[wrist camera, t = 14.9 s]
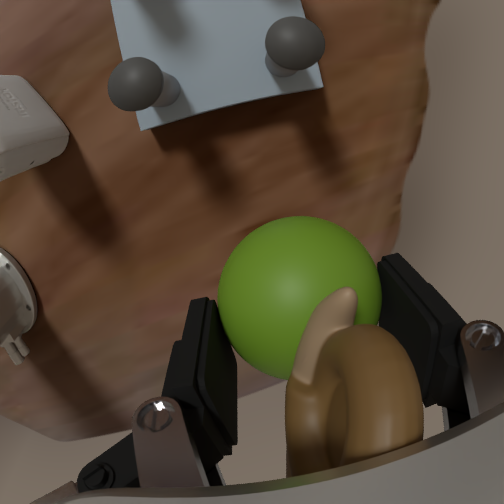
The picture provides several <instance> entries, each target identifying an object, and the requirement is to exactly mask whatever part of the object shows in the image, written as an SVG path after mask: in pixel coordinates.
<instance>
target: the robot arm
mask: <svg viewBox="0 0 504 504" xmlns="http://www.w3.org/2000/svg"><path fill="white" fill-rule="evenodd" d="M377 271H378V274H379V278H380V282H381V289H382V306H381V313H380V317H379V327H381V328H383V329H385V330H386V331H388V332H389V333H391V334H392V335H393V336H394V337H395V338H396V339H397V340H398V341H399V343H400V344H401V345H402V346H403V348H404V349H405V350H406V352H407V354H408V356H409V358H410V360H411V362H412V364H413V366H414V369H415V372H416V375H417V378H418V382H419V385H420V390H421V396H422V402H423V404H424V405H425V407H429V406H431V405H434V404H436V403H437V405H438V406H442V413H443V422H444V432H442V433H440V434H437V435H435V436H432V437H430V438H428V439H425V440H422V441H420V442H417V443H415V444H412V445H409V446H406V447H404V448H401V449H398V450H395V451H392V452H389V453H386V454H383V455H380V456H377V457H374V458H370V459H367V460H364V461H360V462H356V463H353V464H349V465H345V466H341V467H337V468H333V469H329V470H325V471H320V472H315V473H311V474H306V475H300V476H295V477H289V478H283V479H277V480H271V481H263V482H256V483H247V484H237V485H226V484H225V481H224V479H223V476H222V473H221V471H220V468H219V466H218V462H219V461H220V460H222V459H223V456H225V455H232V445H237V441H238V440H237V439H238V437H237V362H236V358H235V355H234V352H233V350H232V347H231V344H230V342H229V340H228V338H227V337H226V335H225V332H224V330H223V327H222V325H221V321H220V317H219V312H218V307H217V305H216V302H215V300H209V298H208V297H204V298H199V299H194V300H191V301H190V305H189V310H188V314H187V318H186V323H185V327H184V331H183V336H182V340H179V341H176V342H174V345H173V348H172V352H171V357H170V361H169V365H168V369H167V373H166V378H165V382H164V386H163V391H162V395H161V397H155V398H151V399H149V400H147V401H145V402H144V403H142V404H141V405H140V406H139V407H138V408H137V409H136V410H135V412H134V414H133V416H132V433H130V434H129V435H128V436H126V437H125V438H124V439H122V440H121V441H120V442H118V443H117V444H115V445H114V446H112V447H111V448H110V449H108V450H107V451H105V452H104V453H103V454H101V455H100V456H98V457H97V458H96V459H94V460H93V461H91V462H90V463H88V464H87V465H86V466H85V467H84V468H83V469H82V470H81V472H80V473H79V476H78V479H77V482H76V483H74V482H73V481H70V482H68V483H66V484H64V485H63V486H61V487H59V488H57V489H56V490H54V491H52V492H50V493H48V494H46V495H45V496H43V497H41V498H39V499H37V500H35V501H33V502H32V503H30V504H504V331H503V330H502V328H501V327H499V326H498V325H497V324H495V323H493V322H491V321H486V320H476V321H472V322H470V323H468V324H466V323H465V321H464V320H463V319H462V318H461V317H460V316H459V315H458V313H457V312H456V311H455V310H454V309H453V308H452V307H451V306H450V304H448V302H447V301H446V300H445V299H444V298H443V297H442V296H441V295H440V294H439V293H438V292H437V290H436V289H435V288H434V287H433V286H432V285H431V284H429V283H427V282H426V281H425V280H424V279H423V278H422V277H421V276H420V274H419V273H418V272H417V271H416V270H415V269H414V268H413V267H411V265H410V264H409V263H408V262H407V261H406V260H405V259H404V258H403V257H402V256H401V255H400V254H399V253H395V254H391V255H387V256H383V257H382V260H381V261H380V262H378V264H377ZM36 318H37V301H36V297H35V293H34V291H33V288H32V285H31V283H30V281H29V279H28V277H27V275H26V274H25V272H24V271H23V269H22V268H21V266H20V265H19V264H18V263H17V261H16V260H15V259H14V258H13V257H12V256H11V255H10V254H9V253H7V252H6V251H5V250H3V249H2V248H0V346H1V347H4V348H5V349H6V351H7V353H8V355H9V356H10V358H11V359H12V361H13V362H14V364H15V365H19V364H20V363H22V362H23V361H24V359H25V357H24V356H26V355H28V354H29V352H30V350H29V348H28V346H27V345H26V343H25V342H24V341H23V339H22V338H21V337H22V334H23V333H26V332H27V331H28V330H30V328H31V327H32V326H33V324H34V323H35V321H36Z"/></svg>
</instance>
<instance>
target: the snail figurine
mask: <svg viewBox="0 0 504 504" xmlns="http://www.w3.org/2000/svg"><path fill="white" fill-rule="evenodd" d="M381 306H382V289H381V282H380V278H379V274H378V271H377V268H376V266H375V264H374V261H373V259H372V258H371V256H370V254H369V253H368V251H367V250H366V248H365V247H364V246H363V245H362V244H361V242H360V241H359V240H358V239H357V238H356V237H354V236H353V235H352V234H351V233H349V232H348V231H347V230H345V229H344V228H342V227H340V226H338V225H336V224H334V223H332V222H329V221H327V220H323V219H320V218H315V217H307V216H295V217H286V218H282V219H278V220H275V221H272V222H269V223H267V224H265V225H263V226H261V227H259V228H257V229H256V230H254V231H253V232H251V233H250V234H249V235H248V236H246V237H245V238H244V239H243V240H242V241H241V242H240V243H239V244H238V245H237V247H236V248H235V249H234V251H233V252H232V253H231V255H230V257H229V258H228V260H227V262H226V264H225V266H224V269H223V271H222V274H221V278H220V281H219V287H218V312H219V317H220V321H221V325H222V327H223V330H224V332H225V335H226V337H227V338H228V340H229V342H230V343H231V345H232V346H233V348H234V349H235V350H236V352H237V353H238V354H239V355H240V356H241V357H242V358H243V359H244V360H245V361H246V362H247V363H249V364H250V365H251V366H253V367H254V368H256V369H258V370H259V371H261V372H263V373H265V374H268V375H270V376H273V377H276V378H280V379H285V380H288V382H287V386H286V395H285V396H286V397H285V431H286V444H287V451H286V452H287V453H286V478H289V477H295V476H300V475H306V474H311V473H315V472H320V471H325V470H329V469H333V468H337V467H341V466H345V465H349V464H353V463H356V462H360V461H364V460H367V459H370V458H374V457H377V456H380V455H383V454H386V453H389V452H392V451H395V450H398V449H401V448H404V447H406V446H409V445H412V444H415V443H417V442H420V441H422V440H423V431H424V426H423V425H424V424H423V423H424V420H423V419H424V415H423V414H424V413H423V403H422V396H421V390H420V385H419V382H418V378H417V375H416V372H415V369H414V366H413V364H412V362H411V360H410V358H409V356H408V354H407V352H406V350H405V349H404V348H403V346H402V345H401V344H400V343H399V341H398V340H397V339H396V338H395V337H394V336H393V335H392V334H391V333H389V332H388V331H386V330H385V329H383V328H381V327H379V326H377V324H378V321H379V317H380V313H381Z"/></svg>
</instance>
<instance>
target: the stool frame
mask: <svg viewBox="0 0 504 504" xmlns="http://www.w3.org/2000/svg"><path fill="white" fill-rule="evenodd" d="M111 5H112V10H113V15H114V20H115V25H116V30H117V35H118V40H119V44H120V49H121V53H122V58H123V62H121V63H120V64H119V65H117V66H116V68H115V69H114V70H113V72H112V73H111V75H110V78H109V81H108V94H109V97H110V99H111V101H112V102H113V103H114V105H115V106H117V107H118V108H120V109H122V110H125V111H136V115H137V118H138V122H139V126H140V130H141V131H143V130H148V129H152V128H155V127H158V126H161V125H164V124H168V123H171V122H174V121H177V120H181V119H184V118H187V117H191V116H194V115H198V114H202V113H205V112H209V111H213V110H217V109H221V108H225V107H229V106H233V105H237V104H241V103H246V102H250V101H255V100H259V99H264V98H269V97H274V96H279V95H285V94H290V93H296V92H302V91H308V90H315V89H319V88H322V87H323V83H322V79H321V75H320V71H319V66H318V61H319V60H320V59H321V57H322V55H323V53H324V50H325V40H324V36H323V34H322V32H321V31H320V29H319V28H318V27H317V26H316V25H315V24H314V23H313V22H311V21H309V20H307V19H306V18H305V14H304V11H303V8H302V4H301V1H300V0H111Z"/></svg>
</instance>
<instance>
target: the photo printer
mask: <svg viewBox="0 0 504 504" xmlns="http://www.w3.org/2000/svg"><path fill="white" fill-rule="evenodd" d="M68 135H69V131H68V129H67V128H66V126H65V125H64V123H63V122H62V121H61V119H60V118H59V117H58V116H57V114H56V113H55V112H54V111H53V110H52V108H51V107H50V106H49V105H48V104H47V103H46V101H45V100H44V99H43V98H42V97H41V96H40V95H39V94H38V92H37V91H36V90H35V89H34V88H33V87H32V86H31V85H30V84H29V83H28V82H27V81H26V80H25V79H24V78H22V77H20V76H14V75H0V181H2V180H4V179H6V178H9V177H11V176H13V175H16V174H18V173H21V172H23V171H26V170H28V169H31V168H33V167H36V166H39V165H41V164H44V163H47V162H49V161H50V160H51V159H52V158H54V157H57V156H59V155H60V154H61V153H62V152H63V151H64V150H65V148H66V146H67V143H68V139H69V137H68Z"/></svg>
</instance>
